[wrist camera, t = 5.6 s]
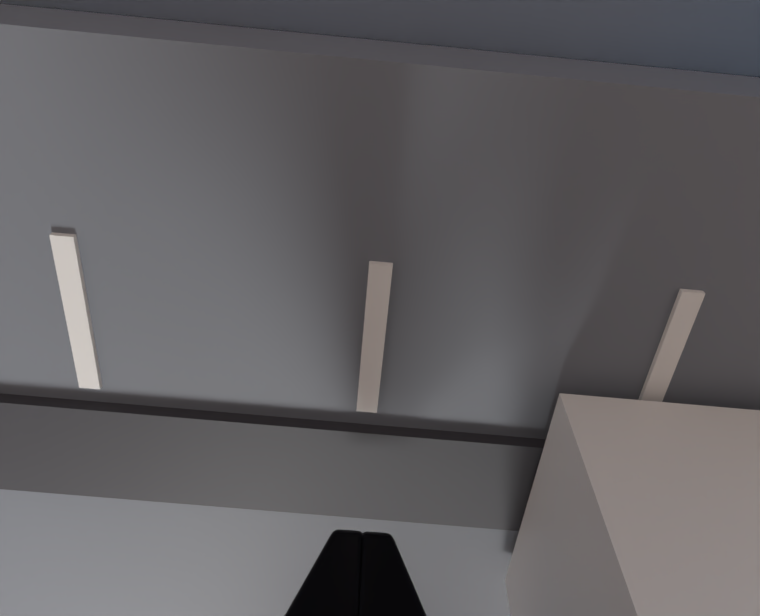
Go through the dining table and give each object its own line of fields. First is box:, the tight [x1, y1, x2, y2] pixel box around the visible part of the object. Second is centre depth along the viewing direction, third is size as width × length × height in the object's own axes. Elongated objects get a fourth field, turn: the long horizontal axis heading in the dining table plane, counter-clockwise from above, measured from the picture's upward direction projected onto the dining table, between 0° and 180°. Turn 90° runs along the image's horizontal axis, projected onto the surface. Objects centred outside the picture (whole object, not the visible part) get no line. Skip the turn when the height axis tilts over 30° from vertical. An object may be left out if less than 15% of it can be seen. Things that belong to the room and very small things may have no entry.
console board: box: [0, 4, 760, 616], centre depth 10 cm, size 12×26×2 cm, turn 85°
